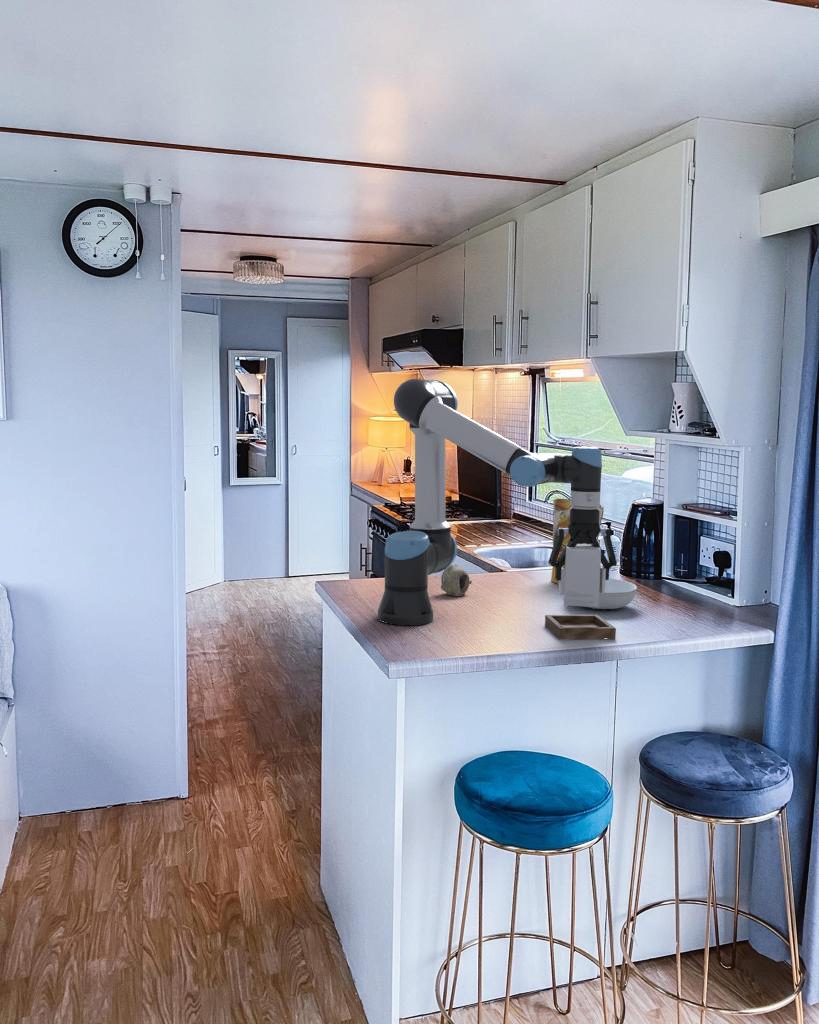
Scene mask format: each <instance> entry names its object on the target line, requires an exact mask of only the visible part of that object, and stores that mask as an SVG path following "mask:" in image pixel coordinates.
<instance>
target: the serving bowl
mask: <svg viewBox="0 0 819 1024" xmlns="http://www.w3.org/2000/svg"><path fill="white" fill-rule="evenodd" d="M637 589H638V586H637V585H636V584H635V583H633V582H630V581H627V580H622V579H617V578H610V577H609V579H608V580H605V594H602V593H600V592H599V605H598V607H588V608H587V609H590V608H593V609H592V610H595V609H612V610H614V609H619V608H620V609H621V608H624V607H626V606H627V605H629V604H630V603H631V602H632V601H634V599H635V598H636V594H637Z"/></svg>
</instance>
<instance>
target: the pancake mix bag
mask: <svg viewBox="0 0 819 1024" xmlns="http://www.w3.org/2000/svg"><path fill="white" fill-rule="evenodd" d="M571 508H572V506H571V505H570V498H556V499H553V519H552V520H553V521H552V522H553V524H552V547H553V546H554V543H555V540H556V537H557V528H568V526H569V520H570V509H571ZM597 508H598V509H599V510H600V517H599V527H600V528H601V524H602V520H603V516H604V507H603V506H602V505H601V504H600V506H599V507H597ZM599 535H600V534H599ZM599 535H598V536H597V537H596V539H597V541H599V540H598V539H599ZM570 538H571V536H570V534H569V533H567V534H566V536H565V537H564V540H563V543H562V546H561V549H560V552H559V555H558V558H559V557H560V555H561V554H562V552H563V550H564V549H565V547H566V544H568V541H569V539H570ZM577 544H578V543H577ZM583 544H586V543H583ZM589 545H591V543H590V544H589ZM558 558H557V560H558ZM556 562H557V561H556ZM562 567H563V568H564V569H565V563H564V565H563V566H562ZM550 581H552V583H554V584H557V585H558V583H559V581H557V580H556V579H555V567H554V566H552V569H551V578H550Z"/></svg>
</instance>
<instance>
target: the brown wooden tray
mask: <svg viewBox="0 0 819 1024" xmlns="http://www.w3.org/2000/svg"><path fill="white" fill-rule="evenodd" d="M544 626H545V627H546V628H547V629H548V630H549V631H550V632H551V633H552V634H553V635H555V637H556V638H558V640H560V639H569V640H605V639H604V638H615V639H616V637H617V636H616V635H617V632H616V631H617V628H616V627H615V626H614V625H612V624H611V623H609V622H608V621H607V620H605V619H604V618H603V617H602V616H600V615H599V614H545V616H544Z"/></svg>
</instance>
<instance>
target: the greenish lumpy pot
mask: <svg viewBox="0 0 819 1024" xmlns="http://www.w3.org/2000/svg"><path fill="white" fill-rule="evenodd" d="M440 582H441V585H440V589H441V591H443V592H445V593H446V594H447V595H448V596H455V597H461V596H464V595H466V593H467V591H468V589H469V587H470V585H471V584H472V583H473V581H472V580H470V576H469V573H468V572H467V570H465V569H464V568H462V567H461V566H459V565H457V564H453V565H452V564H451V565H450V566H449V567H447V568H446V569H444V570H443V572H442V574H441V578H440Z"/></svg>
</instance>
